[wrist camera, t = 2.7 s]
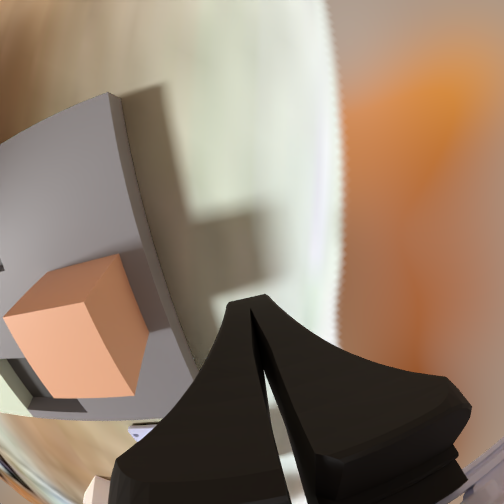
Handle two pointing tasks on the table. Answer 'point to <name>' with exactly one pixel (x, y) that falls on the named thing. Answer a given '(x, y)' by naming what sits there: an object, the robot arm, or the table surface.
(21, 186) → the platform
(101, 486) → the milk
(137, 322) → the block
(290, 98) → the table surface
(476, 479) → the robot arm
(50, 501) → the table surface
